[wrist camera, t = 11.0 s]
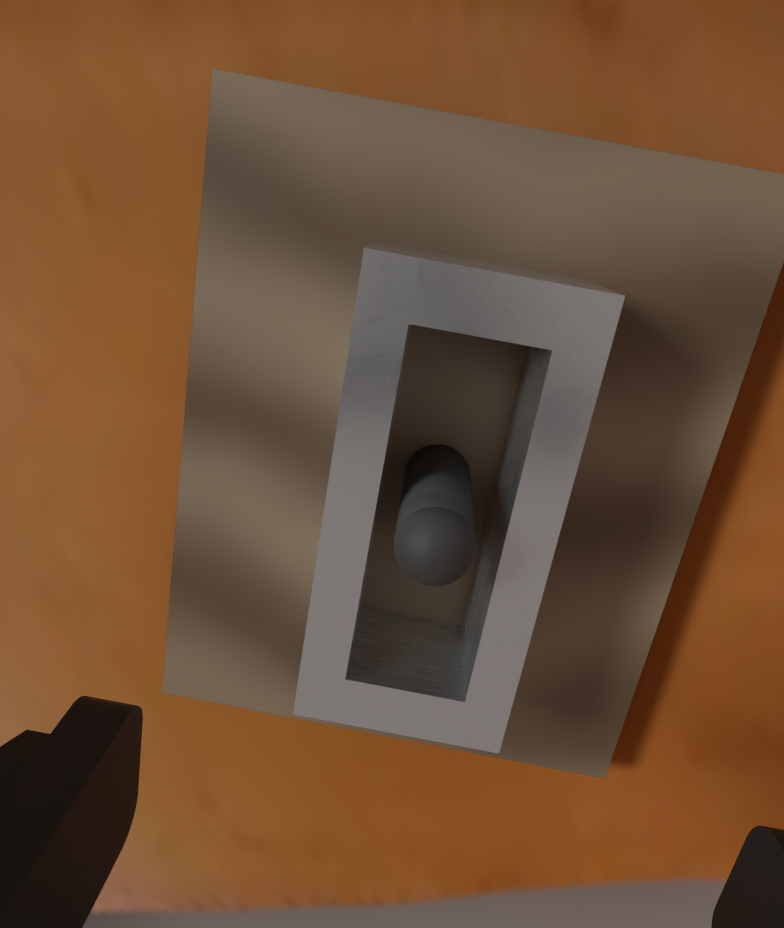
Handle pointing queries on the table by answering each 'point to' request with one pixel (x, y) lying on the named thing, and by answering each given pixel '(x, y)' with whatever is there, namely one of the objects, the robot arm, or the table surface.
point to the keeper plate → (450, 388)
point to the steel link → (511, 510)
